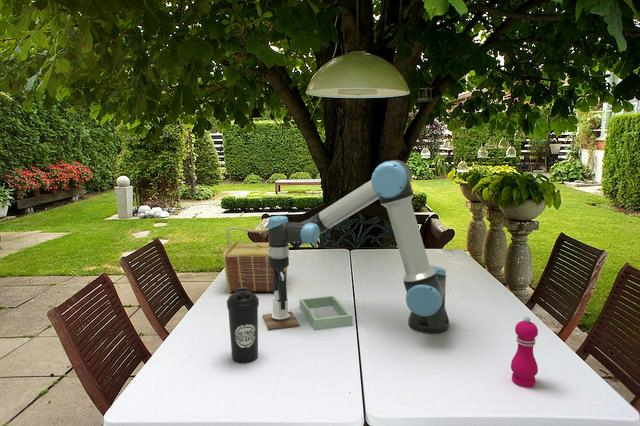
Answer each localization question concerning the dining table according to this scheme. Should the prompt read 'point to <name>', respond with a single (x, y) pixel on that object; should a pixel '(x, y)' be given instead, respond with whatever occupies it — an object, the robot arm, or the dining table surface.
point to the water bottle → (243, 325)
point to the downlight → (276, 307)
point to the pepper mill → (525, 354)
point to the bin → (327, 322)
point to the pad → (280, 322)
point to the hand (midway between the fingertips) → (280, 312)
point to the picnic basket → (248, 264)
